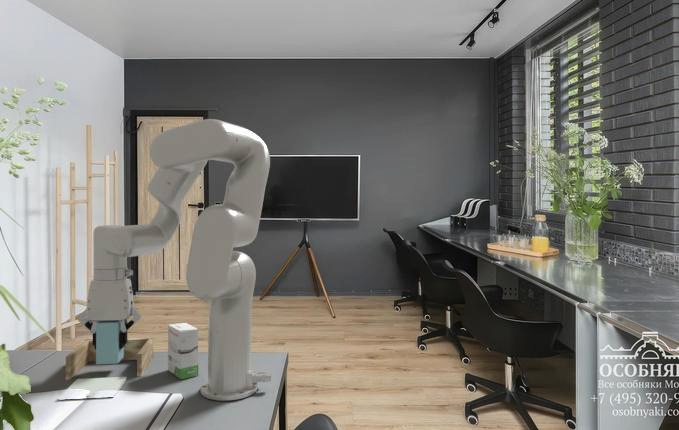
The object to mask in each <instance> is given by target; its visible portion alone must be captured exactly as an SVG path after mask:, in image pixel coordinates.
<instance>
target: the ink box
mask: <svg viewBox="0 0 679 430" xmlns="http://www.w3.org/2000/svg"><path fill="white" fill-rule="evenodd" d="M167 326H168V327H167V342H168V343H167V347H168V348H167V354H168V355H167V363H168V364H167V367H168V368H167V370H168V371H169V372H170V373H172V374H173V375H174V376H175V377H176V378H178V379H179V380H184V379H188V378H193V377H197V376H199V328H197V327H195V326H193V325H191V324H189V323H187V322H181V323H170V324H168V325H167Z"/></svg>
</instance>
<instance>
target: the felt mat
mask: <svg viewBox="0 0 679 430" xmlns="http://www.w3.org/2000/svg"><path fill="white" fill-rule="evenodd" d="M127 380H128V378H127V376H115V377H113V376H112V377H111V376H110V377H93V378H92V377H91V378H90V377H89V378H76V380H74V382H72V383H71V384H70V385H69V387H68V388H66V390H69V389H85V390H89V391H90V393H89V394H87V395H86V397H87V398H88V397H90V396H92V394H93V393H94V392H96V391H100V390H116V391H117V390H119V391H120V389H121V388H122V386H124V384H125V382H126V381H127Z"/></svg>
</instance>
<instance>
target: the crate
mask: <svg viewBox="0 0 679 430" xmlns="http://www.w3.org/2000/svg"><path fill="white" fill-rule="evenodd" d="M153 359H154V337H141V338H140V337H138V338H127V344H125V346H124V357H123V358H122V359H121V360H120V361H133V360H134V361H136V363H137V364H136V366H137V367H136V369H137V370H136V376H137V377H142V376H143V375H144V373H145V371H146V370H147V369H148V367H149V365H150V364H151V362H152V360H153ZM92 361H93V363H95V362H96V350H95V345H93V339H86V340H85V341H83V342H82V343H81V344H79V346H77V347H76V348H75V349H74V350H73V351H71V352H70V353H68V355H66V356H65V380H66V381H68V380H69V381H70V380H71V379H73V378H74V377H75V376H76V375H77V374H78V373H79V372H80V371H81V370H82V369H83V368H84V367H85V366H86V365H87V364H89V362H92Z"/></svg>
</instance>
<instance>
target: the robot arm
mask: <svg viewBox="0 0 679 430" xmlns="http://www.w3.org/2000/svg"><path fill="white" fill-rule="evenodd" d="M149 156H150V159H151V161H152V163H153V165H155V166H156V167H158V168H157V170H156V171H155V173H154V174H153V176H152V178H151V179H150V181H149V182H148V184H147V189H148V190H147V191H148V193H149V194H150V196H151V197H152V198H154V200H156V201H157V202H159V203H158V208H157V211H156V213H155V215H154V216H153V218H152V220H151V221H150V222H149V223H148V224H132V225H115V224H114V225H113V224H111V225H110V224H109V225H108V224H106V225H105V224H104V225H98V226H95V228H94V229H93V235H92V236H93V243H92V245H93V248H92V249H93V252H92V253H93V258H92V259H93V261H92V262H93V263H92V264H93V267H92V268H93V274H92V275H93V279H92V280H90V282H89V288H88V292H87V299H86V308H85V310H83V312H82V313H81V314H80V316H79V317H78V318H77V321H78V322H80V323H81V324H82V325H84V326H85V327H86V328H87V329H88V331H90V333H91V334H92V340H93V345H95V350H96V323H98V322H100V321H118V322H119V325H120V328H121V332H120V333H119V348H120V349H122V348H123V347H124V346H125V344H127V339H128V330H129V329H130V328H132V326H133V325H134V324H136V323H137V322H138V321H140V320H141V319H142V317H143V316H142V314H141V313H140V312H139V310H138V309H136V307H135V303H134V294H133V293H134V291H133V287H132V286H133V285H132V281H131V279H130V278H128V277H129V276H133V275H134V271H133V269H129V268H128V258H132V257H139V256H145V255H151V254H157V253H159V252H161V251H162V250H164V248H166V246H167V245H168V244H169V243H170V241H171V240H172V238H173V237H174V236H175V234H176V232H177V231H178V229H179V228H180V227H179V226H180V223H181V219H182V202H183V200H184V199H185V198H186V196H187V195H188V193H189V192H190V190H191V188H192V187H193V185H194V184H195V182H196V180H197V179H198V178H199V176H200V174H201V173H202V172H203V169H205V167H206V165H207V163H208V161H212V160H213V161H218V162H224V163H230V164H233V166H234V169H233V170H232V172H231V173H230V175H229V177H228V179H227V182H226V185H225V186H226V187H225V194H224V198H223V202H222V203H220V204H219V203H218V204H217V203H216V204H213V205H209V206H208V207H205V209H204V208H203V209H204V210H202V211H201V212H200V214H199V215H198V216H197V219H196V220H195V223H194V226H193V229H192V230H193V231H192V236H191V243H190V247H189V254H188V258H187V259H188V261H187V265H186V274H185V275H186V276H185V277H186V279H185V280H186V285H187V287H188V291H189V292H190V293H191V294H192V296H193V297H195V298H196V299H198V300H200V301H204V302H205V301H206V302H208V301H209V302H210V305H209V307H208V308H209V309H208V328H207V329H208V339H207V341H208V342H207V343H208V346H207V347H208V348H207V353H208V354H207V362H208V363H207V364H208V365H207V380H206V381H205V382H203V383H202V384H201V386H200V394H201V396H203V398H206V399H209V400H211V401H219V402H221V401H222V402H225V401H226V402H228V401H236V400H241V399H246V398H248V397H250V396H252V395H254V394H255V393H256V392H257V390H258V387H259V386H258V383H272V373H271V372H269V373H268V372H267V373H266V370H260V371H256V370H255V369H253V365H252V322H253V321H252V320H253V319H252V316H253V298H254V297H253V296H254V291H255V286H256V279H257V278H256V277H257V272H256V271H257V270H256V266H255V263H254V261H253V260H252V258H251V257H250V256H249V255H248V254H246V253H244V252H242V251H238V250H234V248H239V247H244V246H248V245H250V244H251V243H253V242H254V240H255V239H256V238H257V236H258V232H259V228H260V227H259V226H260V221H261V216H262V210H263V205H264V204H263V203H264V198H265V192H266V186H267V183H268V178H269V172H270V168H271V156H270V152H269V148H268V146H267V144H266V143H265V141H264V140H263V139H262V138H261V137H260V136H258V135H257V134H256V133H255V132H253V131H252V130H249V129H248V128H246V127H243V126H241V125H237V124H234V123H230V122H227V121H223V120H221V119H220V120H219V119H215V118H205V119H201V120H198V121H195V122H190V123H187V124H183V125H181V126H176V127H173V128H169V129H166V130H164V131H162V132H160V133H159V134H157V135H156V136H155V137H154V139H153V140H152V141H151V144H150V147H149ZM132 316H133V318H132V319H130V317H132ZM129 319H130V320H129Z"/></svg>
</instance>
